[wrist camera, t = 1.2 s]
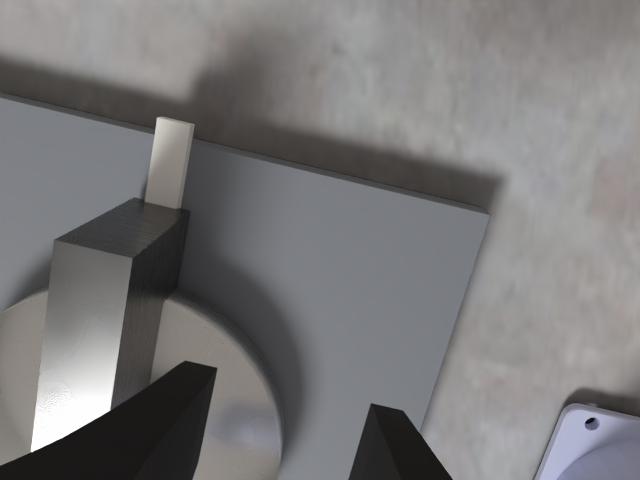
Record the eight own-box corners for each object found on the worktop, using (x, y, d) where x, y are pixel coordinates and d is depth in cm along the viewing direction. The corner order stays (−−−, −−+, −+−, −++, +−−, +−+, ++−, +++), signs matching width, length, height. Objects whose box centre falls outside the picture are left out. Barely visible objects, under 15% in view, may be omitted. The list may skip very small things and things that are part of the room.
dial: (250, 578, 21) (223, 723, 16) (-38, 514, 21) (-152, 643, 16) (334, 244, 17) (331, 304, 13) (-13, 162, 17) (-151, 192, 12)
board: (486, 189, 18) (500, 199, 17) (338, 652, 24) (337, 694, 22) (-117, 44, 18) (-163, 40, 16) (-127, 551, 23) (-162, 586, 22)
